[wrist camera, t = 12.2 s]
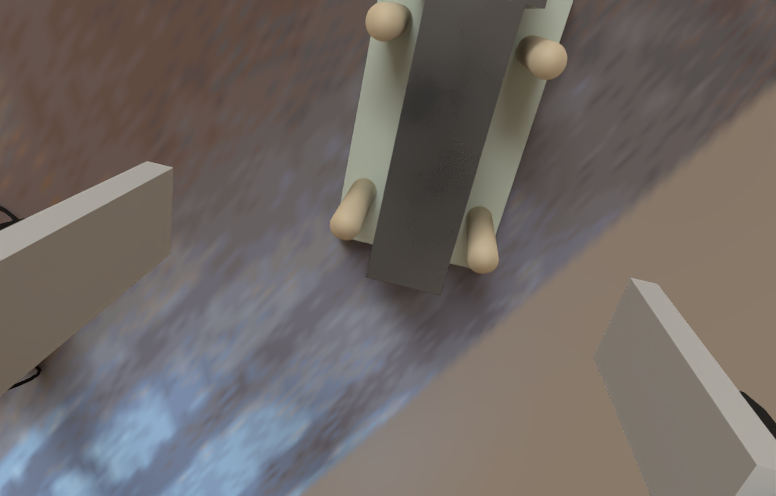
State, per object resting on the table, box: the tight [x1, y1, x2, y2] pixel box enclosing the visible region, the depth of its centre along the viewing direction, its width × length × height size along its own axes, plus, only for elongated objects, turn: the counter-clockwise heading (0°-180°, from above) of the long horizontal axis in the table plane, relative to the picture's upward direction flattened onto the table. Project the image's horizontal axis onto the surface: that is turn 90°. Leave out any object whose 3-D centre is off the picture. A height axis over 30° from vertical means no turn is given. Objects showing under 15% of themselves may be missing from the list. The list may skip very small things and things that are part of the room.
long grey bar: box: [366, 0, 547, 295], centre depth 27 cm, size 17×6×7 cm, turn 168°
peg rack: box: [330, 0, 573, 274], centre depth 28 cm, size 17×10×8 cm, turn 168°
